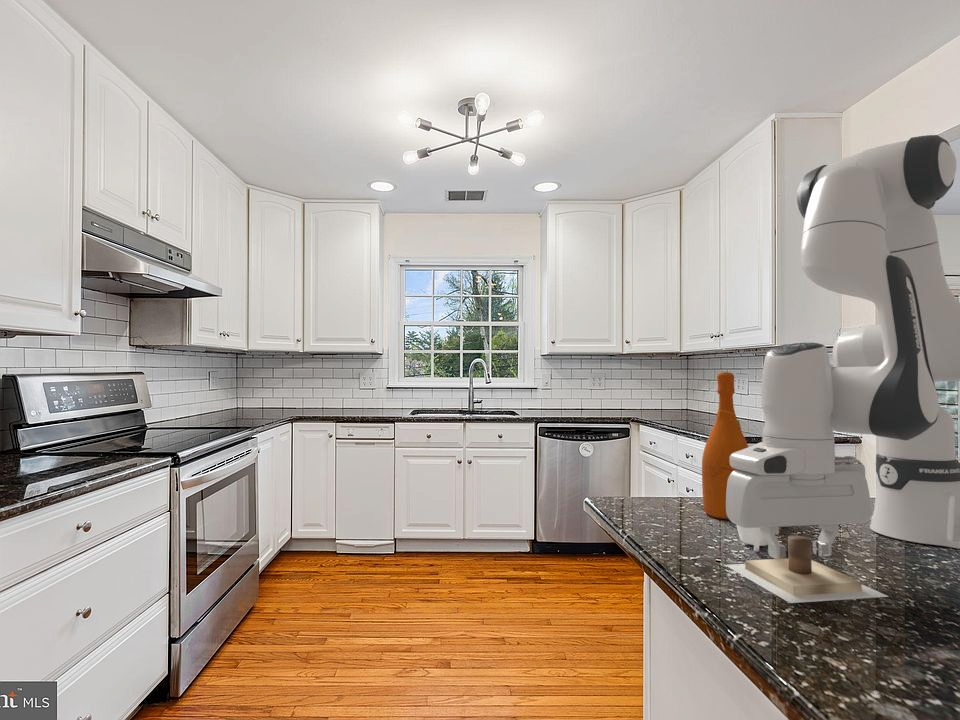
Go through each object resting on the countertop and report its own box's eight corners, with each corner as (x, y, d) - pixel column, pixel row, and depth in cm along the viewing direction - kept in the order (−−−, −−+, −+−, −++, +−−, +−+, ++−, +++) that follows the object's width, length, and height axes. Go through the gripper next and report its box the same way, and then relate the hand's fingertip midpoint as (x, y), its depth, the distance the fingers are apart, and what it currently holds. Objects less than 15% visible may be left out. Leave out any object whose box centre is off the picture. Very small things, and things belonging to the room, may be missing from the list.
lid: (806, 565, 82) (805, 527, 82) (861, 591, 72) (860, 547, 72) (745, 568, 80) (744, 529, 80) (793, 595, 70) (792, 551, 71)
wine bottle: (763, 521, 108) (760, 371, 109) (714, 521, 108) (711, 371, 109) (740, 509, 118) (738, 372, 119) (695, 509, 118) (693, 372, 119)
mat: (808, 563, 84) (808, 560, 84) (888, 600, 70) (888, 596, 70) (724, 568, 82) (724, 564, 82) (790, 606, 68) (789, 602, 68)
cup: (777, 545, 93) (776, 497, 94) (782, 563, 84) (781, 510, 84) (732, 540, 96) (731, 494, 97) (732, 556, 87) (731, 506, 87)
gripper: (845, 452, 81) (848, 545, 81) (718, 455, 78) (720, 552, 78) (882, 458, 75) (885, 560, 74) (746, 462, 72) (748, 567, 72)
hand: (799, 556), depth 76 cm, fingers open, 5 cm apart
